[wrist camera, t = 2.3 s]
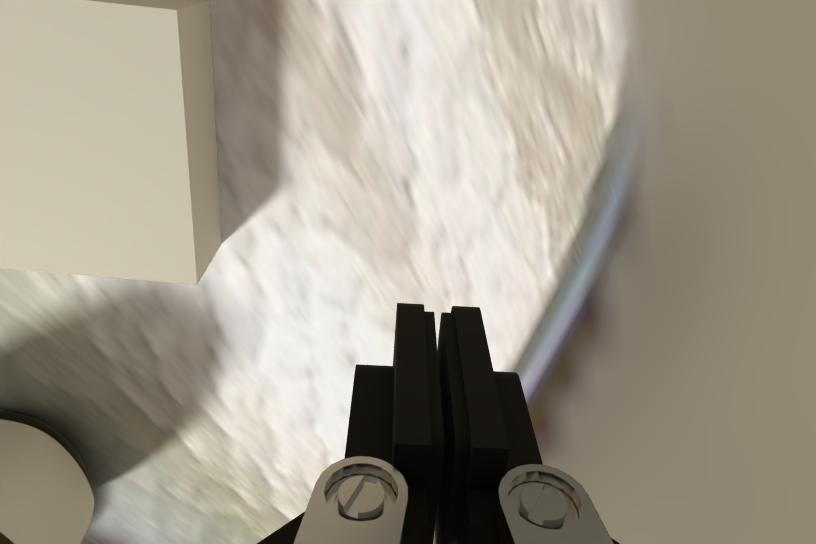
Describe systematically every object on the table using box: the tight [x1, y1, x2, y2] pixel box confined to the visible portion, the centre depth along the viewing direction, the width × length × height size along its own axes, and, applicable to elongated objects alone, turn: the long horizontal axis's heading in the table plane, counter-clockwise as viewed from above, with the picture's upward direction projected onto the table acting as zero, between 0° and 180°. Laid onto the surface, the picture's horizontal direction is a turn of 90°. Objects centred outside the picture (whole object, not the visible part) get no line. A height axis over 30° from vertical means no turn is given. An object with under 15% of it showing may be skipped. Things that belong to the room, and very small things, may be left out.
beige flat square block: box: [0, 0, 222, 285], centre depth 23 cm, size 10×10×4 cm
